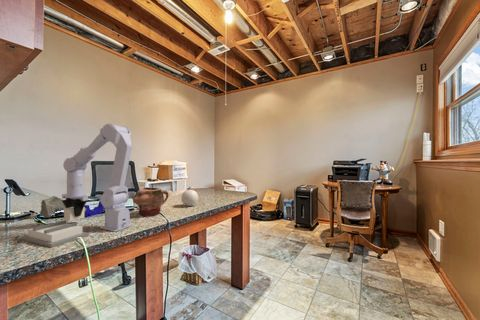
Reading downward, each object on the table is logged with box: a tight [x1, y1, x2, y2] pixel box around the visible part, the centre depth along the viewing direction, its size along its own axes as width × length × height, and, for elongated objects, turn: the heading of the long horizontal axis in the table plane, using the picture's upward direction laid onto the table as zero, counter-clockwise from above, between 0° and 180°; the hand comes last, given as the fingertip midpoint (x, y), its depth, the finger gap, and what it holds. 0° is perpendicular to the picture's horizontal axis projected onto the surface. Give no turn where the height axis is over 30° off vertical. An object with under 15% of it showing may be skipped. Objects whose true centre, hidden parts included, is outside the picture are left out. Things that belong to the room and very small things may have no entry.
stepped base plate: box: [20, 219, 90, 248], centre depth 80 cm, size 18×12×4 cm, turn 69°
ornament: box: [181, 186, 199, 207], centre depth 136 cm, size 10×10×12 cm
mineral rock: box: [39, 195, 66, 219], centre depth 109 cm, size 13×11×10 cm
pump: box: [63, 207, 86, 222], centre depth 96 cm, size 4×8×5 cm, turn 159°
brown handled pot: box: [133, 187, 169, 217], centre depth 115 cm, size 20×12×14 cm, turn 150°
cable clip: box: [84, 200, 105, 219], centre depth 112 cm, size 12×4×6 cm, turn 170°
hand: (74, 215), depth 96 cm, fingers closed on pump, 4 cm apart
